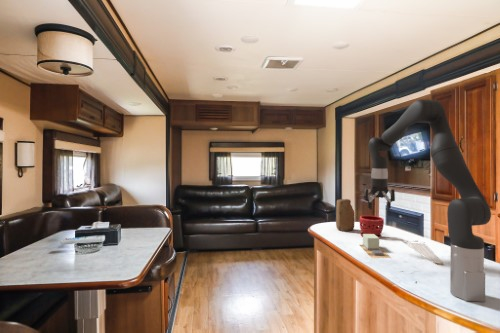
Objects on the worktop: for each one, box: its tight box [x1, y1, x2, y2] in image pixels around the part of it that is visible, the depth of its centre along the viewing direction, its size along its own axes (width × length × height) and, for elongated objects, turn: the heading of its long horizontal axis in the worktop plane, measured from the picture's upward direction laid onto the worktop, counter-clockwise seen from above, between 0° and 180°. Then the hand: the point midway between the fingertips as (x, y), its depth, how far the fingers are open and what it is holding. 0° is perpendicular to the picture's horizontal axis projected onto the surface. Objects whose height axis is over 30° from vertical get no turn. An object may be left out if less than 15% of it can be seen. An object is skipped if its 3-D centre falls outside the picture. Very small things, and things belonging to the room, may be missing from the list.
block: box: [335, 198, 356, 232], centre depth 194 cm, size 11×8×20 cm
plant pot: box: [359, 215, 385, 238], centre depth 176 cm, size 13×13×12 cm
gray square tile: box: [372, 250, 383, 256], centre depth 142 cm, size 4×4×1 cm
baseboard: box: [406, 240, 444, 266], centre depth 147 cm, size 30×3×10 cm
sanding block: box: [362, 234, 380, 250], centre depth 152 cm, size 8×6×6 cm
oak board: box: [359, 244, 392, 259], centre depth 147 cm, size 20×9×2 cm, turn 175°
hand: (379, 209), depth 151 cm, fingers open, 8 cm apart
